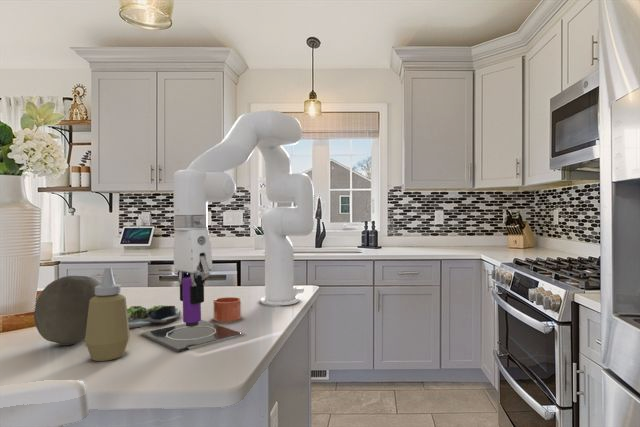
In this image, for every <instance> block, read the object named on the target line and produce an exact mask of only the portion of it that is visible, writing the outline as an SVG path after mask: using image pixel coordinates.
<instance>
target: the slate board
mask: <svg viewBox="0 0 640 427" xmlns="http://www.w3.org/2000/svg"><path fill="white" fill-rule="evenodd" d="M238 335H242V332H240V331H236V330H234V329H230V328H227V327H224V326H221V325H218V324H216V323H212V322H209V321H206V320H203V319H201V321H199V322H198V325H197V326H193V327H187V326H186V323H181V324H177V325H172V326H167V327H163V328H158V329H153V330H148V331H144V332H141V336H142V337H145V338H147V339H150V340H151V341H153V342H156V343H158V344H160V345H162V346H164V347H166V348H168V349H171V350H173V351H175V352H177V353H182V352H185V351H188V350H190V348H192V347H196V346H200V345H203V344H207V343H208V344H209V343H212V342H215V341H219V340H223V339H227V338H231V337H234V336H238Z"/></svg>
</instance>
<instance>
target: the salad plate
mask: <svg viewBox="0 0 640 427" xmlns="http://www.w3.org/2000/svg"><path fill="white" fill-rule="evenodd" d="M127 314H128V323H129V329H135V328H139V329H140V327H151V326H155V327H156V326H162V325H163V326H164V325H168V324H171V323H174V322H177V321H178V319H179V318H180V315H181V309H180V308H179V307H176V305H166V304H164V305H163V304H162V305H161V304H159V305H154V306H152V307H150V308H146V307H144V306H142V305H131V306H129V308H127Z"/></svg>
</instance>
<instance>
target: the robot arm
mask: <svg viewBox="0 0 640 427" xmlns="http://www.w3.org/2000/svg"><path fill="white" fill-rule="evenodd" d="M302 136H303V128H302V125H301V123H300V121H299V119H297V118H296V117H295V116H293V115H290V114H288V113H284V112H282V111H278V110H273V109H268V110H260V111H258V110H257V111H252V112H251V111H250V112H246V113H243V114H241V115H240V116H238V117H237V119H236V121H235V122H234V124H233V125H232V126H231V128H230V129H229V130H228V132H227V133H226V135H225V136H224V138H223V139H222V140H221V142H219V143H217V144H216V145H214V146H212V147H211V148H209V149H207V150H206V151H205V152H203V153H202V154H200V155H199V156H197V157H196V158H195V159H193V161H191V162H190V163H189V165H188V167H187V168H186V169H179V170H176V171H175V172H174V173H173V177H172V182H173V185H172V186H173V187H172V188H173V230H174V237H173V238H174V241H173V267H174V270H175V272H176V274H177V277H178V283H179V301H180V302H183V283H182V279H183V278H186V277H191V282H192V286H191V287H190V303H191V304H197V303H201V304H203V303H204V302H205V285H206V281H207V278H209V276H210V274H211V272H210V271H212V269H213V254H212V243H211V241H212V240H211V235H210V231H209V228H208V226H209V222H208V220H209V219H208V218H209V217H208V213H209V212H208V203H222V202H226V201H229V200H230V199H231V198H232V197H233V196H234V194H235V193H236V188H237V187H236V186H237V185H236V182H235V180H234V178H233V176H231V175H230V174H229V173H226V172H227V171H231V170H233V169H236V168H237V167H240V166H242V165H244V164H245V163H247V162H248V161H249V159H250V157H251V156H252V154H253V152H254V150H255V149H256V147H257V148H258V150H259V151H260V153H261V155H262V158H263V161H264V169H265V171H264V172H265V175H264V176H265V195H266V198H267V200H268V201H270V202H271V203H279V204H288V203H289V204H290V203H293V204H294V203H295V205H296V206H272V207H270V208H267V209H266V210H265V211H264V212H263V213H262V216H261V226H262V231H263V238H264V296H263V297H261V298H260V303H261V304H264V305H271V306H291V305H295V304H297V303H299V297H298V296H297V295H298V294H303V293H304V292H305V289H304V287H302V286H301V287H300V286H299V287H297V286H295V283H294V282H295V280H294V279H295V278H294V277H295V273H294V270H295V268H294V265H295V264H294V262H295V260H294V259H295V258H294V257H295V256H294V254H295V252H294V250H295V249H294V246H293V243H292V242H291V240H290V238H289V237H290V236H291V237H303V236H304V237H305V236H308V235H310V234H311V233H312V232H313V230H314V227H315V195H314V194H315V192H314V185H313V181H312V179H311V177H310V176H309V175H308V174H306V173H303V172H297V173H296V172H295V173H292V165H291V164H292V162H291V157H290V155H289V153H288V152H287V151H286V149H285V148H284V147H283V146H292V145H293V146H294V145H296V144H298V143H299V142H300V141H301V139H302ZM196 277H197V278H196Z"/></svg>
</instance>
